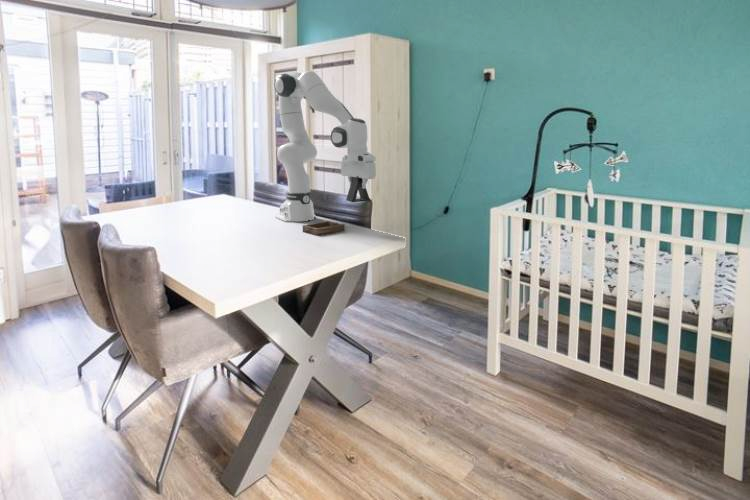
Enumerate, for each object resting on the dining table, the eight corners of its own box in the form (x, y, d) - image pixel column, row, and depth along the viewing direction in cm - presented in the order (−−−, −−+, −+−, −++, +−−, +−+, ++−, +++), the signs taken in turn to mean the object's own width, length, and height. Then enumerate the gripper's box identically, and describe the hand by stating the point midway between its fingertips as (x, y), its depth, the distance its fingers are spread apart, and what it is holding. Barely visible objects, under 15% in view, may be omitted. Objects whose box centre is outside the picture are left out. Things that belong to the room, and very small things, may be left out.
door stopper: (351, 202, 232) (351, 175, 229) (346, 200, 237) (345, 173, 234) (369, 200, 236) (369, 174, 233) (363, 198, 241) (363, 172, 238)
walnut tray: (302, 231, 241) (302, 225, 240) (328, 227, 251) (328, 221, 250) (318, 236, 232) (318, 229, 232) (344, 230, 242) (344, 224, 241)
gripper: (337, 155, 237) (337, 185, 241) (367, 158, 222) (367, 190, 226) (348, 154, 241) (348, 184, 245) (378, 157, 226) (378, 189, 230)
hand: (357, 187), depth 235 cm, fingers closed on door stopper, 6 cm apart
